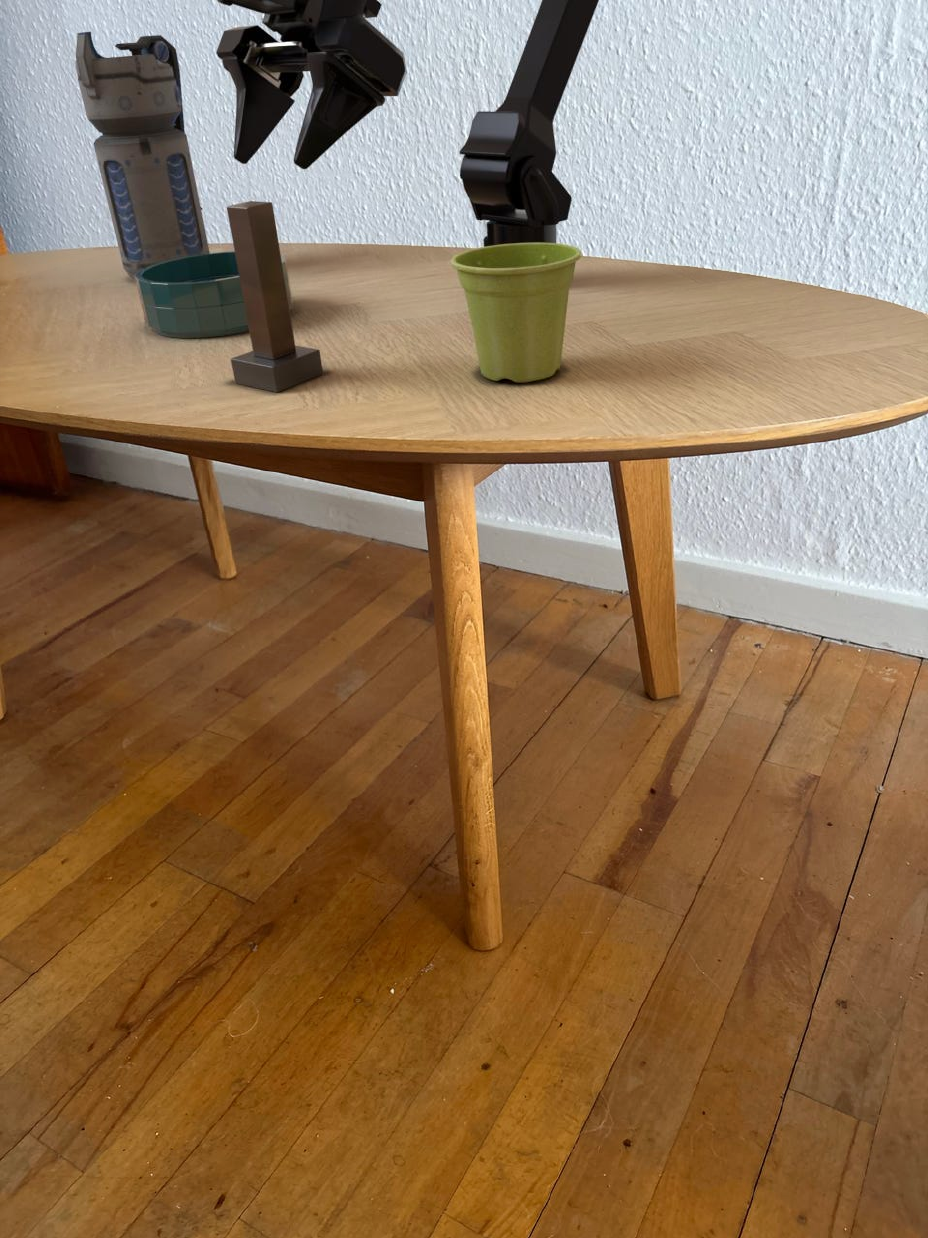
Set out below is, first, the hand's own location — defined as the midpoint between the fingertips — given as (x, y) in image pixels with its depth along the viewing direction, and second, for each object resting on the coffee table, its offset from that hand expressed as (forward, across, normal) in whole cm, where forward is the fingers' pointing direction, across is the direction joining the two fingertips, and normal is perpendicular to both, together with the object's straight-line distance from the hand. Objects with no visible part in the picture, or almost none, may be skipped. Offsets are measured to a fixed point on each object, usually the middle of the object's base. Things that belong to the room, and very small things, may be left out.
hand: (268, 163), depth 76 cm
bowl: (+11, -16, +10) cm, 21 cm away
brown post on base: (+15, +6, +4) cm, 17 cm away
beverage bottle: (+7, -41, +16) cm, 44 cm away
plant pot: (+8, +20, +15) cm, 26 cm away
